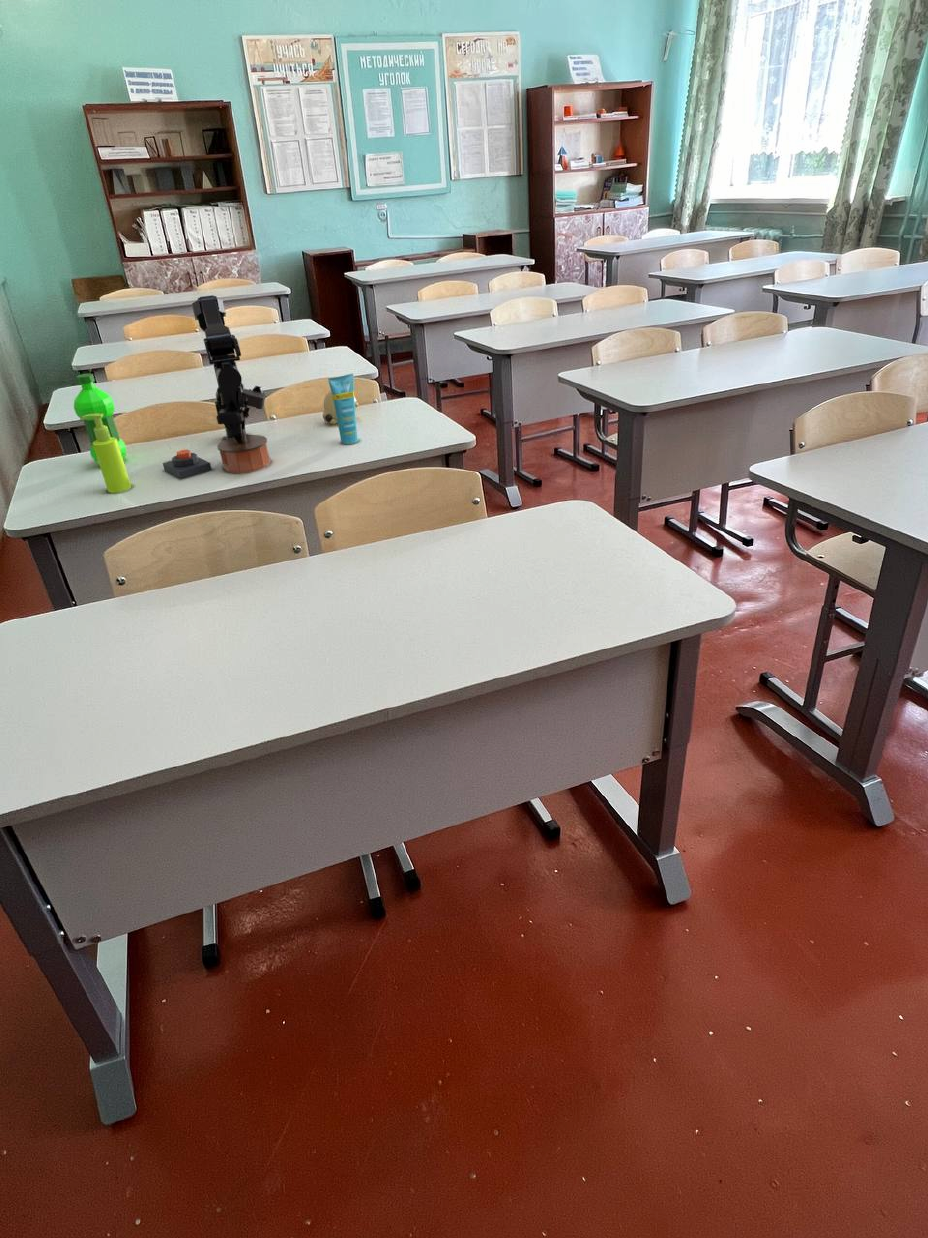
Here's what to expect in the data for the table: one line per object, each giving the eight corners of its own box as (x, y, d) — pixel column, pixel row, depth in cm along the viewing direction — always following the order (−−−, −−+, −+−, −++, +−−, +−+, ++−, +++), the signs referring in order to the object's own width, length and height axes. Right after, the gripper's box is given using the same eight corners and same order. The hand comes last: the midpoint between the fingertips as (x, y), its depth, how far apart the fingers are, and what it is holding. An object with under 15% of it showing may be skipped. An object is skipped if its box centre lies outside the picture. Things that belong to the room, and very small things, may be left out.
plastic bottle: (108, 471, 214) (79, 381, 201) (86, 466, 219) (56, 378, 206) (138, 459, 221) (112, 372, 208) (115, 454, 226) (88, 369, 213)
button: (175, 458, 209) (174, 452, 208) (188, 454, 211) (186, 448, 210) (181, 461, 206) (179, 454, 205) (193, 457, 208) (192, 451, 207)
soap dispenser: (108, 486, 204) (84, 412, 193) (134, 483, 204) (111, 409, 193) (101, 494, 199) (75, 419, 188) (127, 491, 199) (104, 416, 188)
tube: (342, 446, 219) (331, 379, 209) (335, 442, 223) (324, 376, 213) (364, 440, 223) (356, 374, 213) (357, 437, 226) (348, 371, 216)
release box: (164, 470, 212) (160, 456, 209) (194, 461, 216) (191, 448, 214) (181, 479, 204) (177, 465, 202) (211, 470, 209) (208, 456, 207)
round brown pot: (216, 466, 212) (211, 445, 208) (256, 454, 218) (251, 434, 215) (237, 476, 203) (232, 455, 200) (278, 463, 210) (273, 442, 207)
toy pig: (341, 428, 246) (313, 409, 242) (362, 397, 243) (334, 378, 238) (343, 436, 238) (314, 417, 233) (365, 405, 235) (336, 384, 230)
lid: (209, 445, 209) (205, 431, 206) (252, 433, 216) (249, 419, 214) (231, 456, 200) (228, 441, 198) (276, 442, 207) (273, 428, 205)
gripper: (254, 388, 191) (266, 448, 200) (264, 370, 207) (275, 426, 215) (209, 392, 191) (224, 451, 199) (223, 374, 207) (236, 430, 215)
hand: (241, 439), depth 207 cm, fingers open, 4 cm apart
